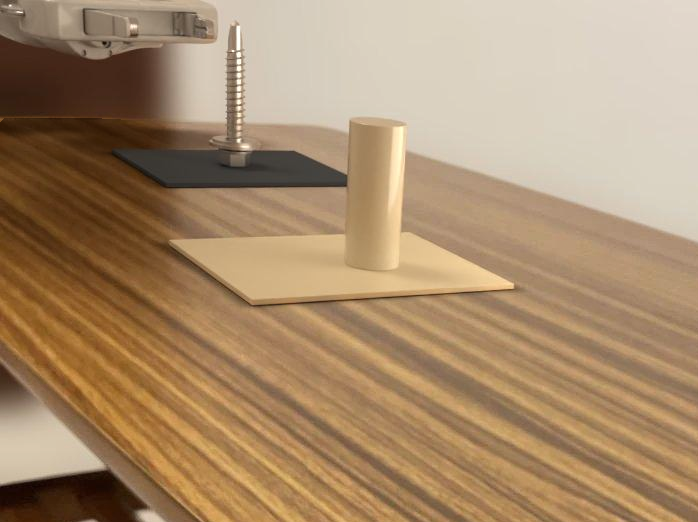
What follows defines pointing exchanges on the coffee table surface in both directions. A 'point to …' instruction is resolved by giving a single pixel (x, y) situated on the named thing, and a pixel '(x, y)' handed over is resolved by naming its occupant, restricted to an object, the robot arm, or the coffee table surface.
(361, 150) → the cream peg
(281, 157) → the slate mat
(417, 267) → the cream mat
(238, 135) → the screw
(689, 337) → the coffee table surface
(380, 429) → the coffee table surface
